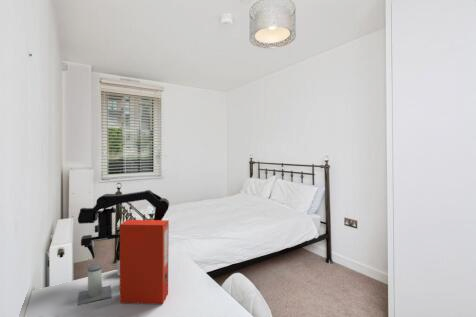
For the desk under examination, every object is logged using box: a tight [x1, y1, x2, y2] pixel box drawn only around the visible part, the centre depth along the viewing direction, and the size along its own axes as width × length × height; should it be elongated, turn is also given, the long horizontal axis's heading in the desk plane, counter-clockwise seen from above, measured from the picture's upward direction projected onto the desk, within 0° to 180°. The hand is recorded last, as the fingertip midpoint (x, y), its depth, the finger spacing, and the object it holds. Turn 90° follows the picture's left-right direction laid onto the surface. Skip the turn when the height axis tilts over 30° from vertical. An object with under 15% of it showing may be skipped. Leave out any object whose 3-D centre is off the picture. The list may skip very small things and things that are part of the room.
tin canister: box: [86, 263, 103, 298], centre depth 108 cm, size 5×5×12 cm
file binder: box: [119, 219, 170, 305], centre depth 106 cm, size 8×17×32 cm, turn 89°
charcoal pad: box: [77, 284, 112, 306], centre depth 109 cm, size 12×10×1 cm
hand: (105, 256), depth 117 cm, fingers open, 9 cm apart
